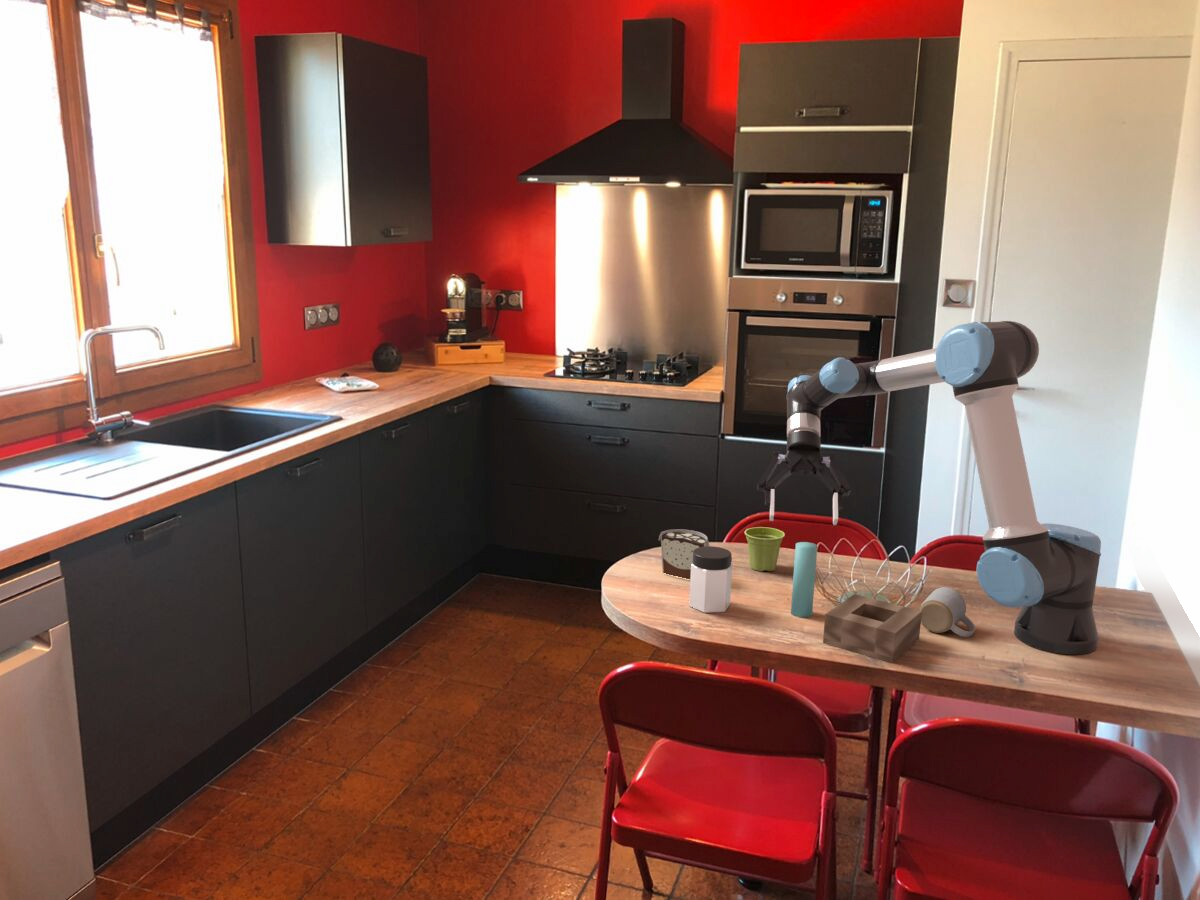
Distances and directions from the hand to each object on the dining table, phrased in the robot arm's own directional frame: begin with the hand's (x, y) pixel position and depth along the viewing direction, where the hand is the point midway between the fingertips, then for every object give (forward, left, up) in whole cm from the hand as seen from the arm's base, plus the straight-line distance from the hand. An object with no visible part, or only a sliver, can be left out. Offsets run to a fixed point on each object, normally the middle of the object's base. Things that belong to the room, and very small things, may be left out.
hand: (803, 520), depth 214 cm
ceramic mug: (-32, -3, -18) cm, 36 cm away
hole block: (-22, +13, -17) cm, 31 cm away
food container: (+26, +5, -17) cm, 31 cm away
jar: (+12, +18, -17) cm, 28 cm away
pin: (-5, +9, -17) cm, 20 cm away
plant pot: (+15, -11, -17) cm, 25 cm away
